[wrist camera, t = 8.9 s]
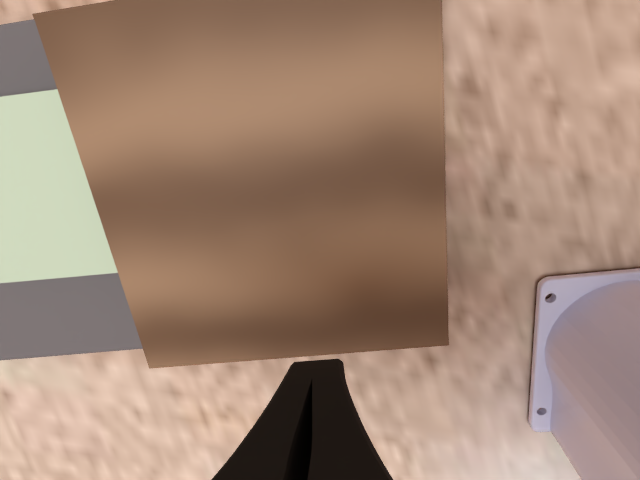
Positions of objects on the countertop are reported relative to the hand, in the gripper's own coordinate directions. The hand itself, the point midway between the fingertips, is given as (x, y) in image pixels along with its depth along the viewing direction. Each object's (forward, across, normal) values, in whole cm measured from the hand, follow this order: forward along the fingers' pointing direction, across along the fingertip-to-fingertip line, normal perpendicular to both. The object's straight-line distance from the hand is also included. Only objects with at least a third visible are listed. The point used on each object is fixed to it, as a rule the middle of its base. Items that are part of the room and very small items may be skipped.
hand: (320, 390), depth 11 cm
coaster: (+9, +13, -5) cm, 17 cm away
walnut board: (+9, +2, -4) cm, 10 cm away
